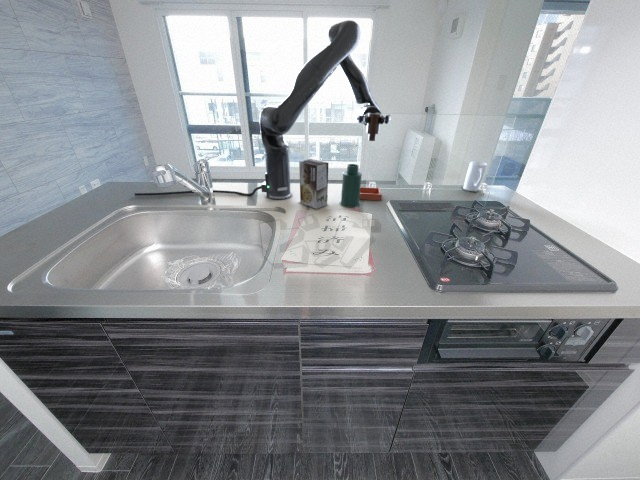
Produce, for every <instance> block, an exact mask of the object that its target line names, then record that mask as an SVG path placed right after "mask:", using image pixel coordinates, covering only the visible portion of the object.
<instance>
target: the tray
mask: <svg viewBox="0 0 640 480" xmlns="http://www.w3.org/2000/svg"><path fill="white" fill-rule="evenodd" d="M359 200H365V201H366V200H367V201H369V200H370V201H381V200H382V192H381V188H380V187H367V186H366V187H365V186H360V196H359Z"/></svg>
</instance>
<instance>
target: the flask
mask: <svg viewBox="0 0 640 480" xmlns="http://www.w3.org/2000/svg"><path fill="white" fill-rule="evenodd" d="M359 166H360V165H358V164H356V163H349V164H347V166H346V167H347V168H346V171H344V172H342V185H341V200H340V205H341V206H342V207H344V208H345V207H346V208H357V207H358V206H359V203H360V199H359V196H360V187H362V186H361V185H362V177H363V175H362V173H361V172H360V171H359Z"/></svg>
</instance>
